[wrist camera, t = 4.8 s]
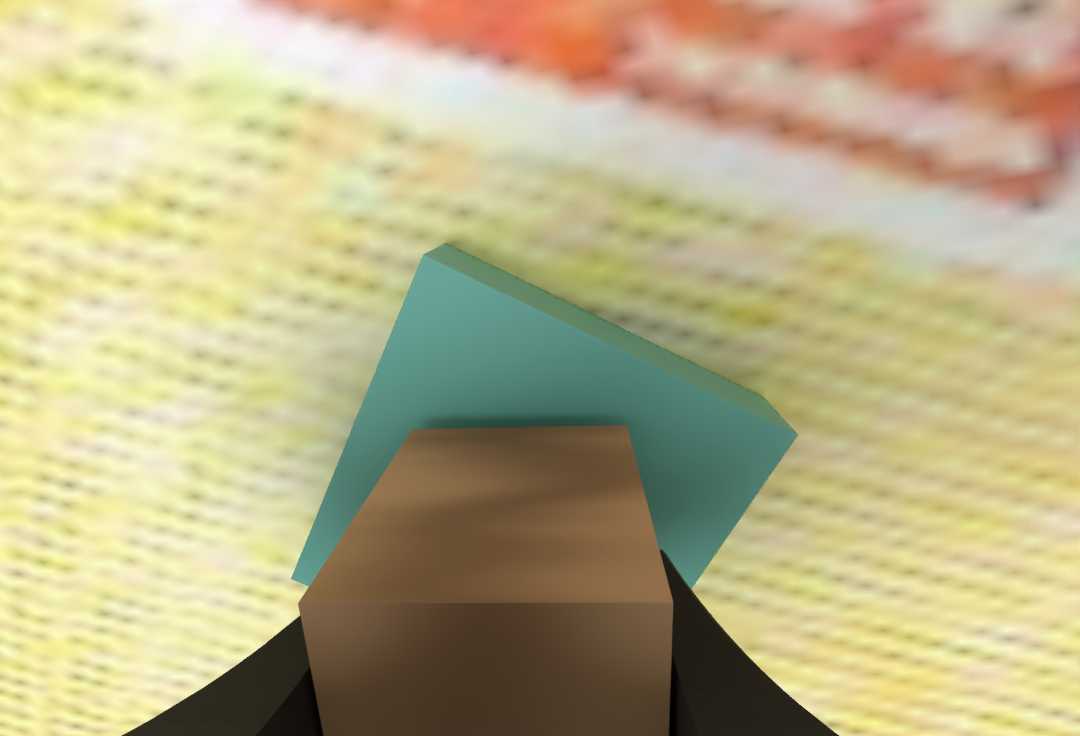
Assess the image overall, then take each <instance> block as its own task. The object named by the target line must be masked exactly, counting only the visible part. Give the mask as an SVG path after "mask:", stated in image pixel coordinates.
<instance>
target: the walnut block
mask: <svg viewBox="0 0 1080 736" xmlns="http://www.w3.org/2000/svg"><path fill="white" fill-rule="evenodd" d="M298 605H299V610H300V615H301V621H302V626H303V631H304V636H305V642H306V647H307V652H308V657H309V662H310V668H311V673H312V678H313V683H314V689H315V694H316V699H317V704H318V710H319V715H320V720H321V725H322V731H323V736H669V715H670V685H671V655H672V624H673V600H672V596H671V592H670V588H669V584H668V580H667V577H666V573H665V569H664V565H663V561H662V558H661V554H660V550H659V546H658V542H657V539H656V535H655V531H654V527H653V523H652V519H651V516H650V512H649V508H648V504H647V500H646V497H645V493H644V489H643V485H642V481H641V477H640V474H639V470H638V466H637V462H636V458H635V455H634V451H633V447H632V443H631V439H630V436H629V432H628V428H627V425H604V426H552V427H500V428H448V429H412V431H411V432H410V434H409V435H408V437H407V438H406V440H405V441H404V443H403V444H402V446H401V447H400V449H399V450H398V452H397V453H396V455H395V457H394V458H393V460H392V461H391V463H390V464H389V466H388V467H387V469H386V470H385V472H384V473H383V475H382V476H381V478H380V479H379V481H378V482H377V484H376V486H375V487H374V489H373V490H372V492H371V493H370V495H369V496H368V498H367V499H366V501H365V502H364V504H363V505H362V507H361V508H360V510H359V511H358V513H357V515H356V516H355V518H354V519H353V521H352V522H351V524H350V525H349V527H348V528H347V530H346V531H345V533H344V534H343V536H342V537H341V539H340V540H339V542H338V543H337V545H336V547H335V548H334V550H333V551H332V553H331V554H330V556H329V557H328V559H327V560H326V562H325V563H324V565H323V566H322V568H321V569H320V571H319V572H318V574H317V576H316V577H315V579H314V580H313V582H312V583H311V585H310V586H309V588H308V589H307V591H306V592H305V594H304V595H303V597H302V598H301V600H300V601H299V603H298Z"/></svg>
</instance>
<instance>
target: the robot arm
mask: <svg viewBox="0 0 1080 736" xmlns="http://www.w3.org/2000/svg"><path fill="white" fill-rule="evenodd" d="M659 550H660V554H661V558H662V561H663V565H664V569H665V573H666V577H667V580H668V584H669V588H670V592H671V596H672V600H673V624H672V655H671V685H670V715H669V736H839V735H837V734H836V733H835V732H834V731H832V730H831V729H830V728H829V727H827V726H826V725H825V724H823V723H822V722H821V721H820V720H818V719H817V718H816V717H815V716H813V715H812V714H811V713H810V712H808V711H807V710H806V709H805V708H803V707H802V706H801V705H799V704H798V703H797V702H796V701H795V700H794V699H792V698H791V697H790V696H789V695H788V694H787V693H786V692H784V691H783V690H782V689H781V688H780V687H779V686H778V685H777V684H776V683H775V682H774V681H773V680H772V679H770V678H769V677H768V676H767V675H766V674H765V673H764V672H763V671H762V670H761V669H760V668H759V667H758V666H757V665H756V664H755V663H754V662H753V661H752V660H751V659H750V658H749V657H748V656H747V655H746V654H745V653H744V652H743V651H742V649H741V648H740V647H739V646H738V645H737V644H736V643H735V642H734V641H733V640H732V639H731V638H730V636H729V635H728V634H727V633H726V632H725V631H724V630H723V628H722V627H721V626H720V625H719V624H718V623H717V621H716V620H715V619H714V618H713V617H712V615H711V614H710V613H709V612H708V610H707V609H706V608H705V607H704V605H703V604H702V603H701V602H700V601H699V599H698V598H697V597H696V595H695V594H694V593H693V591H692V590H691V589H690V587H689V586H688V585H687V583H686V582H685V580H684V579H683V578H682V576H681V575H680V573H679V572H678V571H677V569H676V568H675V566H674V565H673V563H672V562H671V560H670V558H669V557H668V555H667V554H666V553H665V552H664V551H663V550H662V549H659ZM122 736H323V731H322V725H321V720H320V715H319V710H318V704H317V699H316V694H315V689H314V683H313V678H312V673H311V668H310V662H309V657H308V652H307V647H306V642H305V636H304V631H303V626H302V621H301V615H300V616H299V617H298V618H297V619H295V620H294V621H293V622H292V623H290V624H289V625H288V626H287V627H285V628H284V629H283V630H282V631H281V632H279V633H278V634H277V635H276V636H274V637H273V638H272V639H271V640H269V641H268V642H267V643H266V644H264V645H263V646H262V647H261V648H259V649H258V650H257V651H255V652H254V653H253V654H251V655H250V656H249V657H247V658H246V659H244V660H243V661H242V662H240V663H239V664H238V665H236V666H235V667H233V668H232V669H230V670H229V671H227V672H226V673H225V674H223V675H222V676H220V677H219V678H217V679H216V680H214V681H213V682H211V683H210V684H208V685H207V686H205V687H204V688H202V689H201V690H199V691H197V692H196V693H194V694H192V695H191V696H189V697H187V698H186V699H184V700H183V701H181V702H179V703H178V704H176V705H174V706H173V707H171V708H169V709H168V710H166V711H164V712H163V713H161V714H160V715H158V716H156V717H155V718H153V719H151V720H149V721H148V722H146V723H144V724H142V725H141V726H139V727H137V728H135V729H133V730H131V731H130V732H128V733H126V734H124V735H122Z"/></svg>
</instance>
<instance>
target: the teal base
mask: <svg viewBox="0 0 1080 736" xmlns="http://www.w3.org/2000/svg"><path fill="white" fill-rule="evenodd" d="M604 425H627V428H628V432H629V436H630V439H631V443H632V447H633V451H634V455H635V458H636V462H637V466H638V470H639V474H640V477H641V481H642V485H643V489H644V493H645V497H646V500H647V504H648V508H649V512H650V516H651V519H652V523H653V527H654V531H655V535H656V539H657V542H658V546H659V549H662V550H663V551H664V552H665V553H666V554H667V555H668V557H669V558H670V560H671V562H672V563H673V565H674V566H675V568H676V569H677V571H678V572H679V573H680V575H681V576H682V578H683V579H684V580H685V582H686V583H687V585H688V586H689V587H690V589H692V587H693V586H694V584H695V583H696V581H697V580H698V579H699V577H700V576H701V574H702V573H703V571H704V570H705V568H706V567H707V566H708V564H709V563H710V561H711V560H712V558H713V557H714V555H715V554H716V553H717V551H718V550H719V548H720V547H721V545H722V544H723V542H724V541H725V540H726V538H727V537H728V535H729V534H730V532H731V531H732V529H733V528H734V526H735V525H736V524H737V522H738V521H739V519H740V518H741V516H742V515H743V513H744V512H745V511H746V509H747V508H748V506H749V505H750V503H751V502H752V500H753V499H754V498H755V496H756V495H757V493H758V492H759V490H760V489H761V487H762V486H763V485H764V483H765V482H766V480H767V479H768V477H769V476H770V474H771V473H772V472H773V470H774V469H775V467H776V466H777V464H778V463H779V461H780V460H781V459H782V457H783V456H784V454H785V453H786V451H787V450H788V448H789V447H790V446H791V444H792V443H793V441H794V440H795V438H796V437H797V435H798V434H797V433H796V432H795V431H794V430H793V429H792V428H791V427H790V425H789V424H788V423H787V422H786V421H785V420H784V419H783V418H782V417H781V416H780V414H779V413H778V412H777V411H776V410H775V409H774V408H773V407H772V406H771V405H770V404H769V402H768V401H767V400H766V399H765V398H764V397H762V396H760V395H758V394H756V393H754V392H752V391H750V390H748V389H746V388H744V387H742V386H740V385H738V384H735V383H733V382H731V381H729V380H727V379H725V378H723V377H721V376H719V375H717V374H715V373H713V372H711V371H709V370H707V369H704V368H702V367H700V366H698V365H696V364H694V363H692V362H690V361H688V360H686V359H684V358H682V357H680V356H678V355H676V354H674V353H671V352H669V351H667V350H665V349H663V348H661V347H659V346H657V345H655V344H653V343H651V342H649V341H647V340H645V339H643V338H640V337H638V336H636V335H634V334H632V333H630V332H628V331H626V330H624V329H622V328H620V327H618V326H616V325H614V324H612V323H609V322H607V321H605V320H603V319H601V318H599V317H597V316H595V315H593V314H591V313H589V312H587V311H585V310H583V309H581V308H579V307H576V306H574V305H572V304H570V303H568V302H566V301H564V300H562V299H560V298H558V297H556V296H554V295H552V294H550V293H548V292H545V291H543V290H541V289H539V288H537V287H535V286H533V285H531V284H529V283H527V282H525V281H523V280H521V279H519V278H517V277H514V276H512V275H510V274H508V273H506V272H504V271H502V270H500V269H498V268H496V267H494V266H492V265H490V264H488V263H486V262H484V261H481V260H479V259H477V258H475V257H473V256H471V255H469V254H467V253H465V252H463V251H461V250H459V249H457V248H455V247H453V246H450V245H448V244H446V243H445V244H443V245H441V246H439V247H437V248H435V249H433V250H431V251H430V252H428V253H426V254H424V255H423V257H422V259H421V261H420V264H419V266H418V269H417V271H416V274H415V276H414V279H413V281H412V283H411V286H410V288H409V291H408V293H407V296H406V298H405V301H404V303H403V306H402V308H401V310H400V313H399V315H398V318H397V320H396V323H395V325H394V328H393V330H392V333H391V335H390V337H389V340H388V342H387V345H386V347H385V350H384V352H383V355H382V357H381V360H380V362H379V364H378V367H377V369H376V372H375V374H374V377H373V379H372V382H371V384H370V387H369V389H368V391H367V394H366V396H365V399H364V401H363V404H362V406H361V409H360V411H359V414H358V416H357V418H356V421H355V423H354V426H353V428H352V431H351V433H350V436H349V438H348V441H347V443H346V445H345V448H344V450H343V453H342V455H341V458H340V460H339V463H338V465H337V467H336V470H335V472H334V475H333V477H332V480H331V482H330V485H329V487H328V490H327V492H326V494H325V497H324V499H323V502H322V504H321V507H320V509H319V512H318V514H317V517H316V519H315V521H314V524H313V526H312V529H311V531H310V534H309V536H308V539H307V541H306V544H305V546H304V548H303V551H302V553H301V556H300V558H299V561H298V563H297V566H296V568H295V571H294V573H293V575H292V578H291V579H293V580H295V581H297V582H300V583H302V584H305V585H307V586H310V585H311V583H312V582H313V580H314V579H315V577H316V576H317V574H318V572H319V571H320V569H321V568H322V566H323V565H324V563H325V562H326V560H327V559H328V557H329V556H330V554H331V553H332V551H333V550H334V548H335V547H336V545H337V543H338V542H339V540H340V539H341V537H342V536H343V534H344V533H345V531H346V530H347V528H348V527H349V525H350V524H351V522H352V521H353V519H354V518H355V516H356V515H357V513H358V511H359V510H360V508H361V507H362V505H363V504H364V502H365V501H366V499H367V498H368V496H369V495H370V493H371V492H372V490H373V489H374V487H375V486H376V484H377V482H378V481H379V479H380V478H381V476H382V475H383V473H384V472H385V470H386V469H387V467H388V466H389V464H390V463H391V461H392V460H393V458H394V457H395V455H396V453H397V452H398V450H399V449H400V447H401V446H402V444H403V443H404V441H405V440H406V438H407V437H408V435H409V434H410V432H411V431H412V429H448V428H500V427H552V426H604Z"/></svg>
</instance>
